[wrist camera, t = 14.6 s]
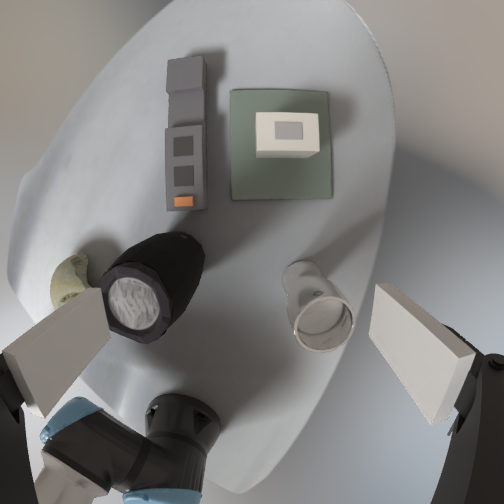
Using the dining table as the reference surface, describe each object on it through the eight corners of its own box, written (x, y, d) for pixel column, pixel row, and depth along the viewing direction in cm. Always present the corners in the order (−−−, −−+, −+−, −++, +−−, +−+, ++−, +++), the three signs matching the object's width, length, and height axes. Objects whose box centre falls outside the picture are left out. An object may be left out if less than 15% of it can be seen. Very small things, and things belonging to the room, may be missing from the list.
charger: (306, 158, 38) (320, 151, 30) (256, 158, 38) (256, 150, 30) (305, 127, 37) (318, 113, 29) (255, 126, 37) (255, 111, 29)
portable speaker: (179, 215, 40) (124, 237, 21) (221, 262, 42) (197, 320, 23) (141, 251, 41) (73, 295, 23) (181, 295, 43) (138, 365, 24)
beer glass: (325, 256, 41) (360, 291, 27) (324, 299, 43) (354, 350, 28) (278, 258, 41) (291, 297, 27) (279, 303, 43) (291, 357, 28)
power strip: (207, 207, 40) (202, 210, 36) (173, 209, 40) (165, 211, 36) (206, 64, 35) (202, 53, 31) (174, 68, 35) (166, 58, 31)
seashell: (100, 338, 37) (51, 339, 36) (116, 321, 45) (71, 324, 44) (82, 254, 35) (33, 262, 34) (102, 249, 43) (57, 256, 42)
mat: (330, 199, 39) (331, 199, 39) (232, 199, 40) (231, 200, 39) (326, 93, 36) (327, 92, 35) (230, 92, 36) (229, 90, 35)
